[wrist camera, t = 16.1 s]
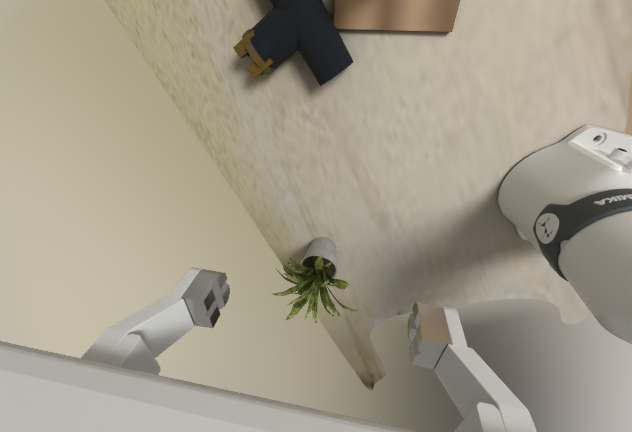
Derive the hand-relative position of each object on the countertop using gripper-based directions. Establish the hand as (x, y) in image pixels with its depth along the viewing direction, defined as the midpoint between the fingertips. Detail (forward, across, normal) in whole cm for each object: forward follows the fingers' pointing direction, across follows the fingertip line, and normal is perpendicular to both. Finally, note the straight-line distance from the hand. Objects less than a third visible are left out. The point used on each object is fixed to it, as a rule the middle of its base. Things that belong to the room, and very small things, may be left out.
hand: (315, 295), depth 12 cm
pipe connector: (+35, +10, -8) cm, 37 cm away
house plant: (+34, +3, +27) cm, 44 cm away
